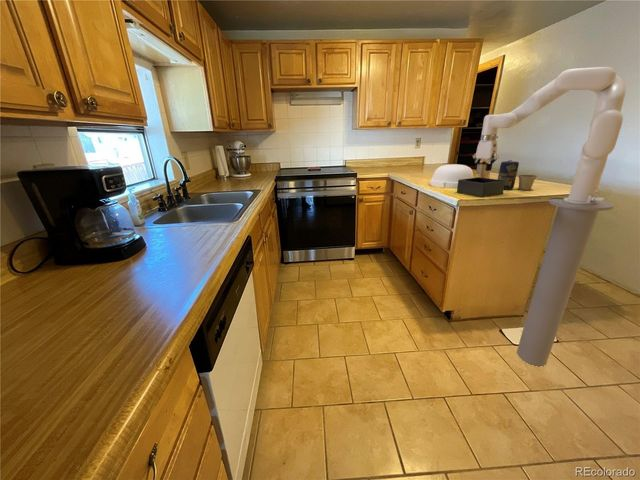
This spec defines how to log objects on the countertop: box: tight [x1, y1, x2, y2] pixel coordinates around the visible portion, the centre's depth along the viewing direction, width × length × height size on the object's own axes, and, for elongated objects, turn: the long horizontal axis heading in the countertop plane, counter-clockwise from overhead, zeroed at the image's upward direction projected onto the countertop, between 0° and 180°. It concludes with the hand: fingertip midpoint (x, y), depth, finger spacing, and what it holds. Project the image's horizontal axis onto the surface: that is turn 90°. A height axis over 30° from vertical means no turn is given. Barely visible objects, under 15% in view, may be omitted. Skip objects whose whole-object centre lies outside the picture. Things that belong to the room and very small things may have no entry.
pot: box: [475, 161, 489, 175], centre depth 158 cm, size 7×7×7 cm
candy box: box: [475, 159, 492, 179], centre depth 208 cm, size 9×4×15 cm, turn 91°
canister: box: [497, 159, 520, 190], centre depth 169 cm, size 10×10×18 cm
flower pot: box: [517, 174, 538, 191], centre depth 166 cm, size 9×9×9 cm
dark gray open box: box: [456, 177, 505, 198], centre depth 162 cm, size 18×18×8 cm
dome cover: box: [429, 163, 474, 189], centre depth 192 cm, size 32×30×14 cm
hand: (482, 169), depth 158 cm, fingers closed on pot, 6 cm apart
